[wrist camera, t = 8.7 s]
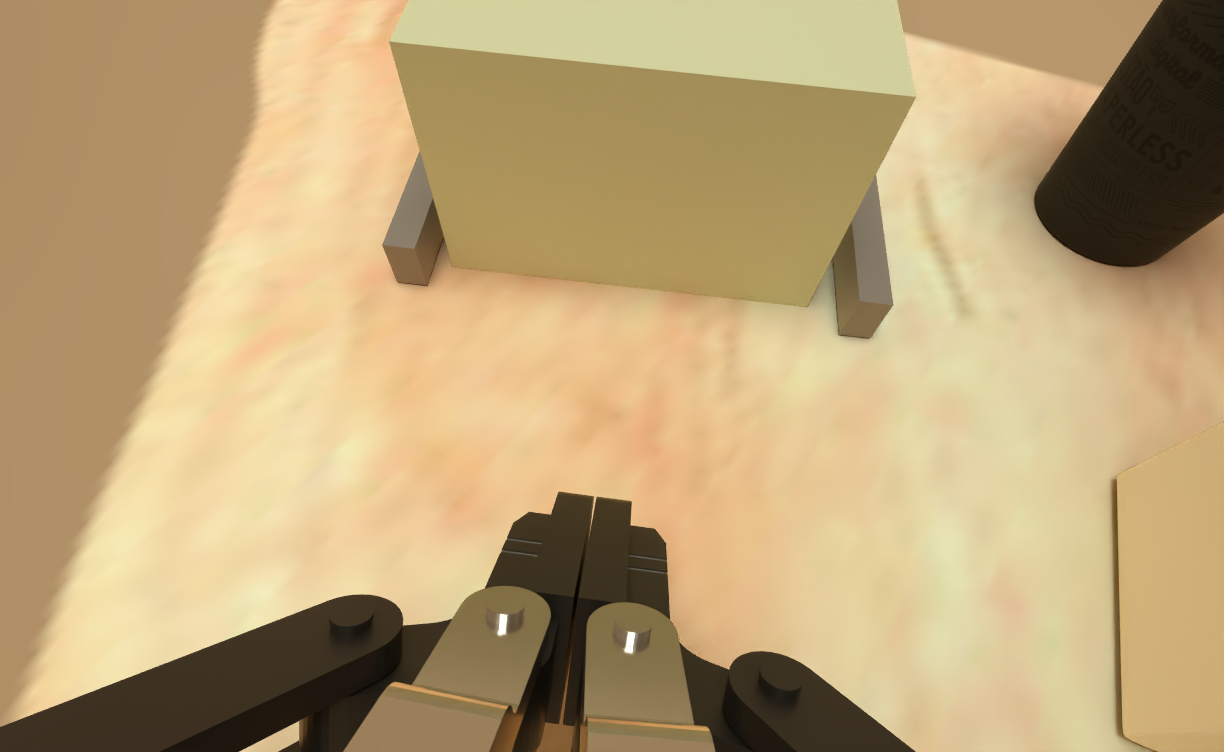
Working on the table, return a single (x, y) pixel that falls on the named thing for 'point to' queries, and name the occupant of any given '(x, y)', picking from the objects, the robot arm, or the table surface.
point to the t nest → (854, 260)
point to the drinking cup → (1147, 145)
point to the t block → (653, 135)
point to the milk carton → (1173, 596)
